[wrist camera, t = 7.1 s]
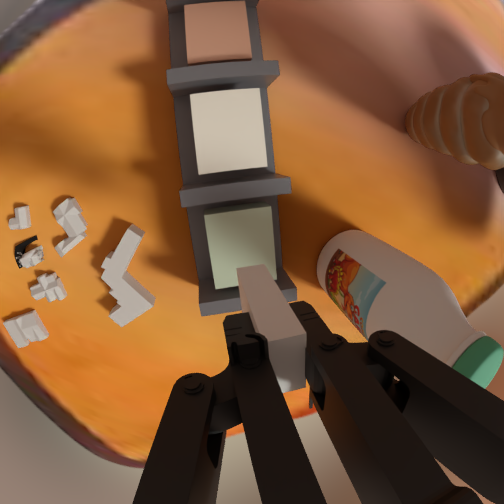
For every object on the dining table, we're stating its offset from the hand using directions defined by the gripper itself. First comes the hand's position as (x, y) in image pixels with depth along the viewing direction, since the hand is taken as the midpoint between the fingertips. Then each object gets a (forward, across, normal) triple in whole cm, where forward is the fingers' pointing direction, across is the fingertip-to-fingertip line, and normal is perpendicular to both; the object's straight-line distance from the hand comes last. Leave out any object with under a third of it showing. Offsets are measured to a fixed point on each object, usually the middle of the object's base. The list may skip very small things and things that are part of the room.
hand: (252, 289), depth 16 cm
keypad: (+12, 0, -9) cm, 15 cm away
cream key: (+9, 0, -9) cm, 13 cm away
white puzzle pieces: (+13, +19, -1) cm, 23 cm away
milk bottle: (+12, -12, +5) cm, 18 cm away
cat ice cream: (+12, -21, -10) cm, 26 cm away
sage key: (+9, 0, 0) cm, 9 cm away
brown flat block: (+11, 0, -18) cm, 21 cm away
